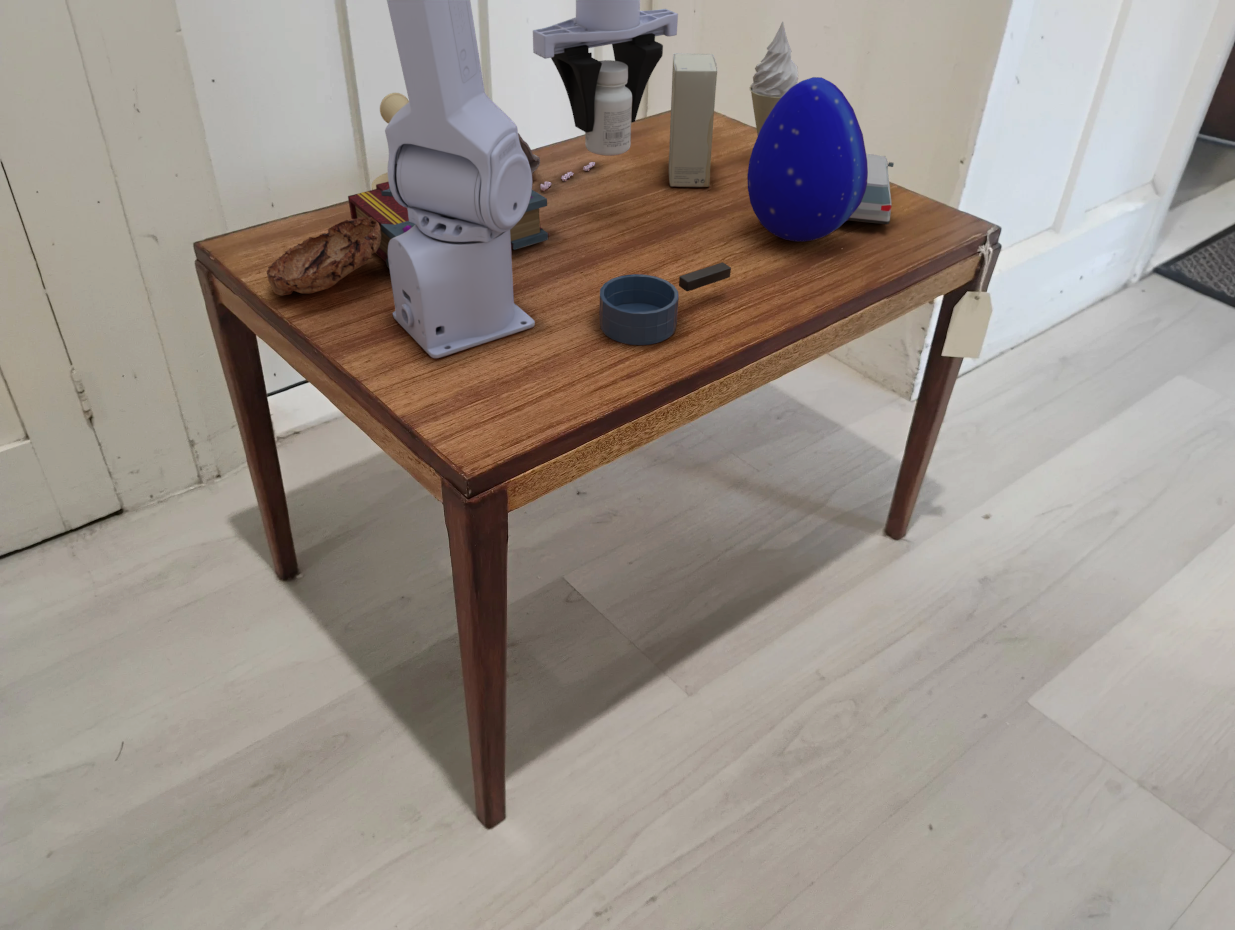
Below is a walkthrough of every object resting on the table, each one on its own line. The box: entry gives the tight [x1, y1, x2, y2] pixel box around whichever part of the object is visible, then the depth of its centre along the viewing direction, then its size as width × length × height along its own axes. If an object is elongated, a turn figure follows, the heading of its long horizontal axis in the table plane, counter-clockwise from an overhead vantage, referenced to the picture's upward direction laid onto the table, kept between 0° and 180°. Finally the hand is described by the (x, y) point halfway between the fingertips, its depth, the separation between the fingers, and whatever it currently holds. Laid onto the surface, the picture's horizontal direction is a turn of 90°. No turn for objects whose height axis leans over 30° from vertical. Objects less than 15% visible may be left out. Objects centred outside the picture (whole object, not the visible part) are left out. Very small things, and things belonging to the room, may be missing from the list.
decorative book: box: [347, 182, 551, 268], centre depth 90 cm, size 11×16×5 cm
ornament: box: [746, 76, 868, 242], centre depth 90 cm, size 11×9×15 cm
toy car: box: [847, 152, 895, 225], centre depth 99 cm, size 6×13×5 cm, turn 171°
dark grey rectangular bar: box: [678, 261, 732, 293], centre depth 83 cm, size 5×1×1 cm, turn 125°
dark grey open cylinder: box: [598, 273, 680, 346], centre depth 80 cm, size 6×6×3 cm
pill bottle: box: [584, 59, 632, 157], centre depth 91 cm, size 4×4×8 cm
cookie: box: [266, 216, 381, 296], centre depth 84 cm, size 10×11×3 cm
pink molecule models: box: [539, 161, 596, 192], centre depth 102 cm, size 15×2×1 cm, turn 141°
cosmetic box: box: [668, 52, 718, 188], centre depth 101 cm, size 6×4×12 cm
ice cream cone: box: [749, 21, 799, 136], centre depth 104 cm, size 5×5×15 cm
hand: (605, 123), depth 92 cm, fingers closed on pill bottle, 4 cm apart
